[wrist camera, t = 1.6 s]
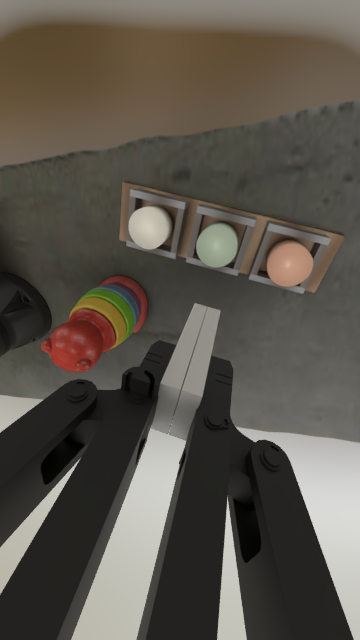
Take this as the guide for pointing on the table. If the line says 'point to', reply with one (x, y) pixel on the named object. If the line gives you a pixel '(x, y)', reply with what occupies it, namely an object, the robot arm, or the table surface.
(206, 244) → the sage button
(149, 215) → the ivory button
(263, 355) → the table surface
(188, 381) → the robot arm
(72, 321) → the stacking bear
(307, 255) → the terracotta button
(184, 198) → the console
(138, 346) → the table surface
